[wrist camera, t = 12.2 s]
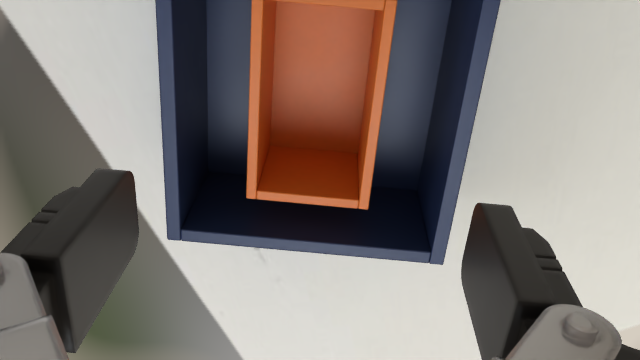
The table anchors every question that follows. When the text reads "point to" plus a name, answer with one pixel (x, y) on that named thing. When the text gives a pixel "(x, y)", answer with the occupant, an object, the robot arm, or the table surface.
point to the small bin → (316, 99)
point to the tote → (392, 148)
